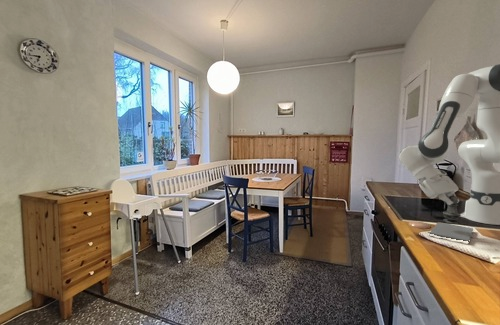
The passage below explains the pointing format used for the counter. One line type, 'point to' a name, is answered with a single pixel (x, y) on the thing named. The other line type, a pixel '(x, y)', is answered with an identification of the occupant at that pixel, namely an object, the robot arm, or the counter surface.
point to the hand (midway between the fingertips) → (454, 203)
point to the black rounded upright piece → (452, 212)
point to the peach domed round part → (419, 225)
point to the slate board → (452, 231)
